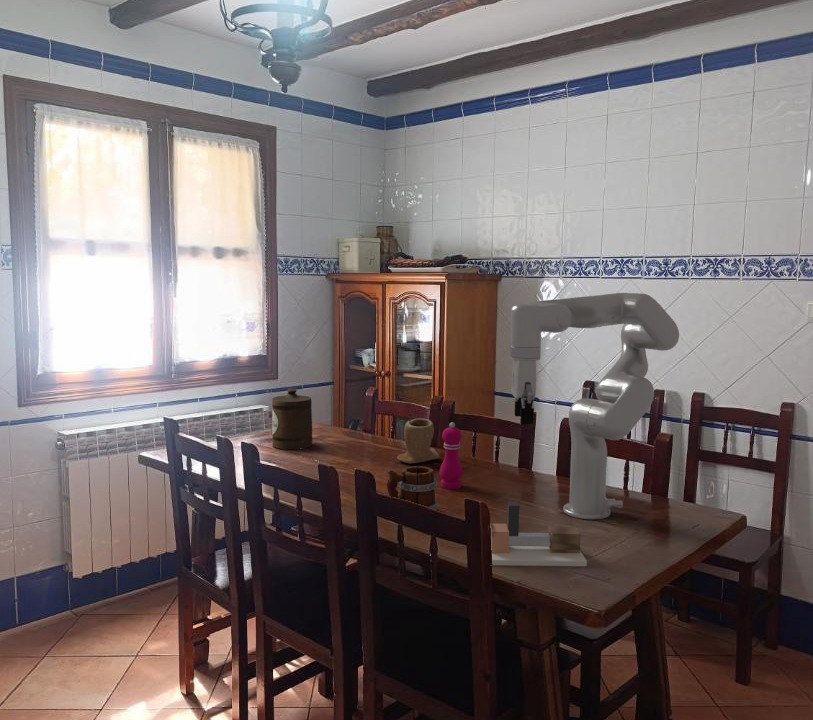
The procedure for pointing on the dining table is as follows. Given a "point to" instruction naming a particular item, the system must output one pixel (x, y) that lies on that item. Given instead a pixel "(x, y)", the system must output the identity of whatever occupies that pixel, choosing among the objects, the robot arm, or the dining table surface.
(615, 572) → the dining table surface
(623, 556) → the dining table surface
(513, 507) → the grey piece
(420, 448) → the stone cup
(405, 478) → the mug
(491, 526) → the terracotta socket
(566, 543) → the walnut sleeve
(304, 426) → the wooden container
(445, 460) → the pepper mill
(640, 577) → the dining table surface
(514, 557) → the cream board
